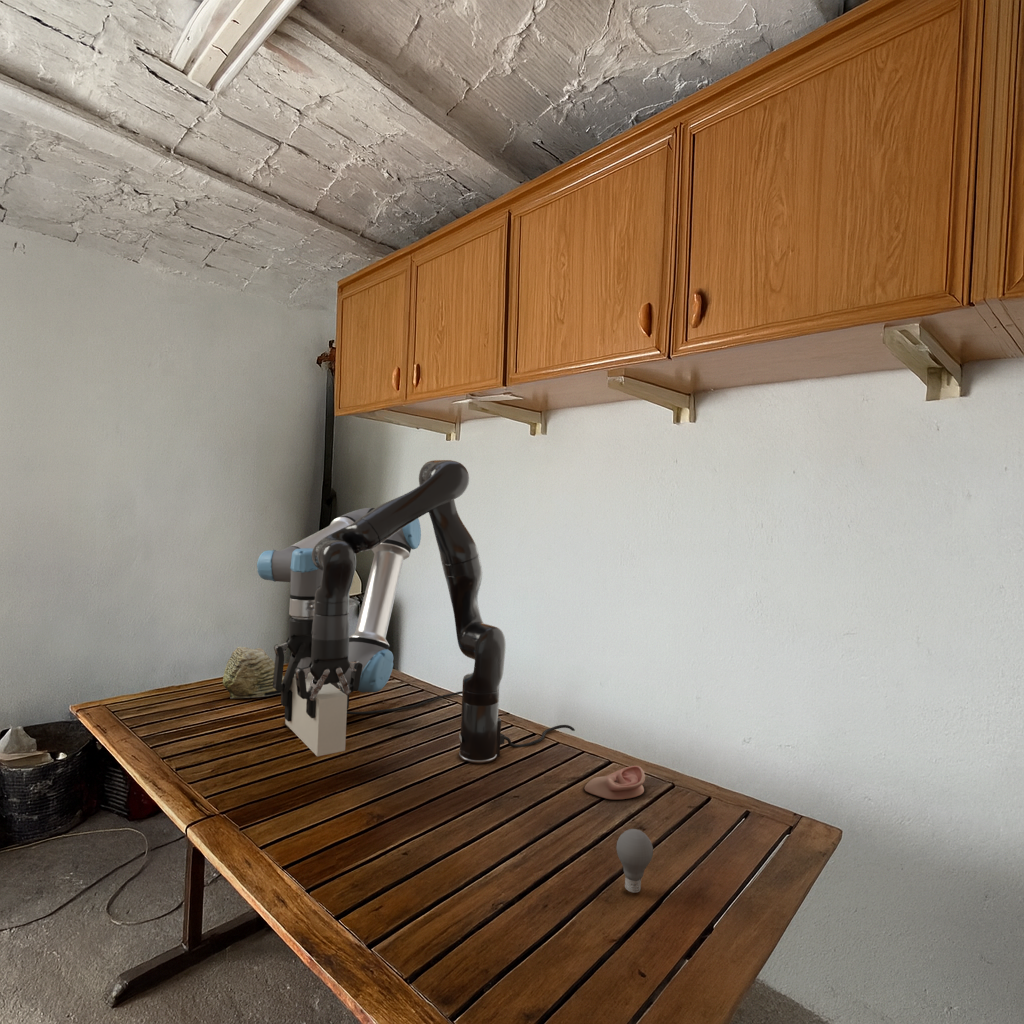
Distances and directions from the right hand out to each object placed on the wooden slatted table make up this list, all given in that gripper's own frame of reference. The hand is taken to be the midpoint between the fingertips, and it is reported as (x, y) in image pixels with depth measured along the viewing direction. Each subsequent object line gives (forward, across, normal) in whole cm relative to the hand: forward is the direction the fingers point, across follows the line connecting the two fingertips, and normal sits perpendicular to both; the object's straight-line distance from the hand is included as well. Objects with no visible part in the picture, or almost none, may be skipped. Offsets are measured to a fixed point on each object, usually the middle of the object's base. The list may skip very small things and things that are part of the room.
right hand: (327, 714), depth 132 cm
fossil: (+18, +5, +77) cm, 79 cm away
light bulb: (+18, +32, -57) cm, 68 cm away
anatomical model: (+18, +57, -29) cm, 66 cm away
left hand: (+5, 0, +16) cm, 16 cm away
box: (+7, 0, +8) cm, 11 cm away
